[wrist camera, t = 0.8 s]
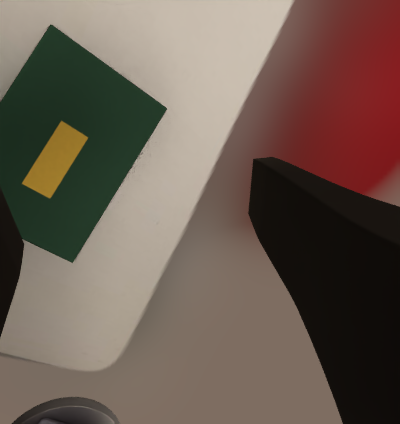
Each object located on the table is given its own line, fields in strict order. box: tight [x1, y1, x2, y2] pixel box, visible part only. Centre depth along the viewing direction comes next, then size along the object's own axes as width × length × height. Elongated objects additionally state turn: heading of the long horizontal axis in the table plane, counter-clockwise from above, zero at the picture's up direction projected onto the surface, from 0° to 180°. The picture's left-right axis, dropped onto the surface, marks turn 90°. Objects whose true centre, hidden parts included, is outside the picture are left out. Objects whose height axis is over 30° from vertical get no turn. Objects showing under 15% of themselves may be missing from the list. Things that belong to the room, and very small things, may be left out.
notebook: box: [0, 25, 167, 263], centre depth 28 cm, size 16×11×1 cm
